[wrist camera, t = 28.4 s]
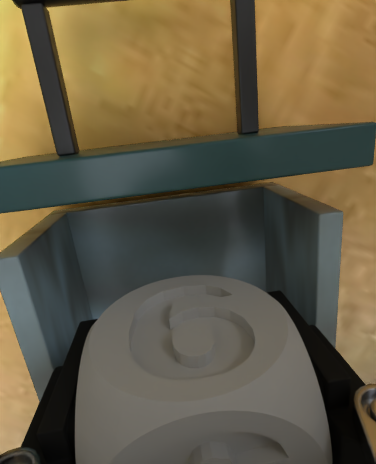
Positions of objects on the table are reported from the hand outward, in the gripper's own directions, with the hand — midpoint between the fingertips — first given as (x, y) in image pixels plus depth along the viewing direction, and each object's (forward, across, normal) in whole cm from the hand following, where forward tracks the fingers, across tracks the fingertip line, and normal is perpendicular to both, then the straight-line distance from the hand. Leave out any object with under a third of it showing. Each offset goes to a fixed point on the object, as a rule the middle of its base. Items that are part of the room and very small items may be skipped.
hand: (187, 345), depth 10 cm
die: (+1, 0, 0) cm, 1 cm away
